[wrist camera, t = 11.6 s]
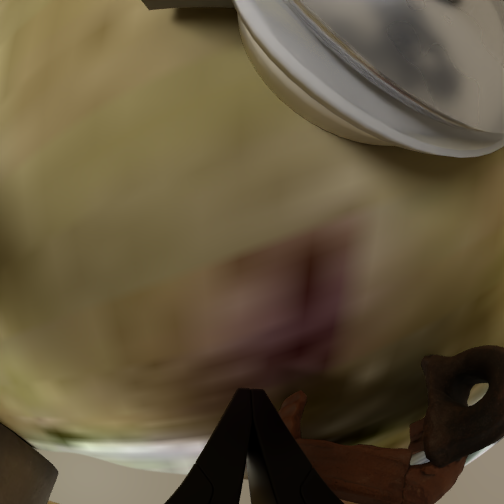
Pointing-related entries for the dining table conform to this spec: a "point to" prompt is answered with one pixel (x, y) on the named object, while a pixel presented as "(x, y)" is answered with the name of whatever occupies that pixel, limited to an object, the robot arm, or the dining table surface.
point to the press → (334, 85)
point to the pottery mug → (416, 435)
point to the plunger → (421, 52)
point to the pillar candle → (23, 472)
